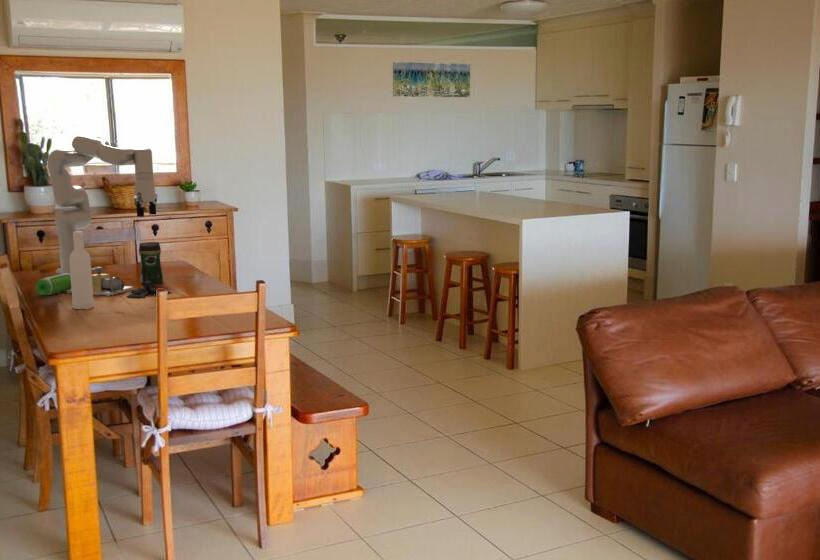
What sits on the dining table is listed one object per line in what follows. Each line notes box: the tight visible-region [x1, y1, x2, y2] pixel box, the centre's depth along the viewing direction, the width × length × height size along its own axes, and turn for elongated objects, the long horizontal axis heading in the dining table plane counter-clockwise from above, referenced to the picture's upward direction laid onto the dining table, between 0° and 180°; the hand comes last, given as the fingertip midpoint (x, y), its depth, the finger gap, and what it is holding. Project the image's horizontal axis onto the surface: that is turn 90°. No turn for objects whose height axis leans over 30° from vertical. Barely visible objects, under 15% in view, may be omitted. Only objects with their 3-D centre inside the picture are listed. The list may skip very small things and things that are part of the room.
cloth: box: [126, 281, 173, 299], centre depth 371 cm, size 22×19×6 cm
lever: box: [91, 266, 104, 274], centre depth 371 cm, size 14×4×3 cm, turn 160°
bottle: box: [69, 230, 95, 310], centre depth 341 cm, size 8×8×30 cm
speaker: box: [35, 273, 71, 296], centre depth 376 cm, size 18×7×8 cm, turn 162°
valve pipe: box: [65, 273, 134, 297], centre depth 377 cm, size 23×16×7 cm
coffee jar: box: [138, 241, 164, 285], centre depth 395 cm, size 10×8×19 cm
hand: (146, 215), depth 390 cm, fingers open, 9 cm apart
